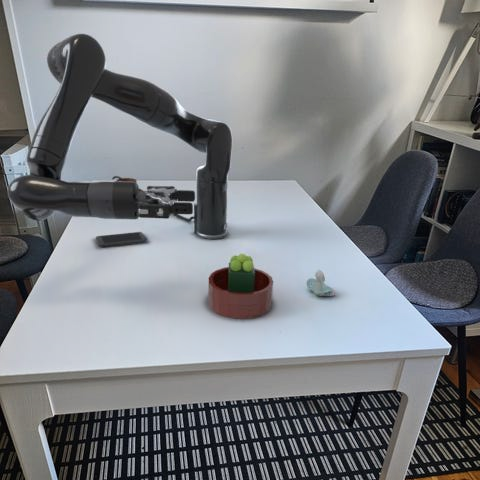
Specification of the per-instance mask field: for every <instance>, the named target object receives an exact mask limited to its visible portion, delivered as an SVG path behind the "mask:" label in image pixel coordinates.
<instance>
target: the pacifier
mask: <svg viewBox="0 0 480 480" xmlns="http://www.w3.org/2000/svg"><path fill="white" fill-rule="evenodd" d="M314 277H315V278H308V279H307V280H306V287H307V289H308V290H310V291H312V292H313V294H314V295H316V296H319V297H324V296H326V297H333V296H334V295H335V294H336V291H335V290H334V289H333V288H332V287H331V286H329V285H327V284H326V283H324V282H325V281H326V276H325V273H324V272H323V271H322V270H321V269H317V270H316V271H315V273H314Z"/></svg>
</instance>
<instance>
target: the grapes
mask: <svg viewBox="0 0 480 480" xmlns="http://www.w3.org/2000/svg"><path fill="white" fill-rule="evenodd" d="M253 259H254V258H253V257H252V256H250V255H247V254H246V253H239V254H237V255H233V256H231V257H230V260H229V262H228V267H229V274H228V292H235V293H253V292H254V278H255V272H254V268H255V267H254V266H255V265H254V260H253Z"/></svg>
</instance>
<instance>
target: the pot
mask: <svg viewBox="0 0 480 480" xmlns="http://www.w3.org/2000/svg"><path fill="white" fill-rule="evenodd" d="M254 272H255V278H254V292H253V293H235V292H228V274H229V266H227V267H222V268H220V269H216V270H214V271H213V272H211V273H210V274H209V276H208V281H207V282H208V284H207V285H208V288H207V289H208V290H207V294H208V295H207V297H208V298H207V299H208V306H209V308H210V309H211V311H213V312H214V313H216V314H217V315H220V316H223V317H225V318H229V319H230V318H231V319H239V320H246V319H255V318H258V317H261V316H263V315H265V314H267V313H268V312H269V311H270V310H271V307H272V302H273V295H274V294H273V292H274V280H273V277H272V275H270V274H269V273H268V272H266V271H264V270H261V269H258V268H255V267H254Z"/></svg>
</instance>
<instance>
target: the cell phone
mask: <svg viewBox="0 0 480 480" xmlns="http://www.w3.org/2000/svg"><path fill="white" fill-rule="evenodd" d="M95 240H96V242H97V243H96V244H97V246H98V247H100V248H104V247H105V248H106V247H115V246H123V245H125V246H126V245H132V244H133V245H134V244H141V243H143V244H144V243H146V242H147V240H148V239H147V238H146V237H145V235H144V232H141V231H134V232H123V233H115V234H106V235H105V234H103V235H97V236H95Z"/></svg>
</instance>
